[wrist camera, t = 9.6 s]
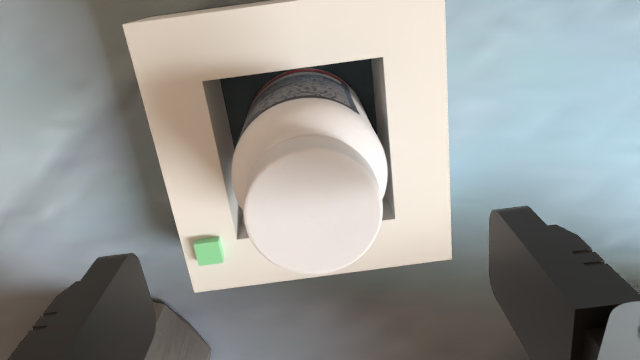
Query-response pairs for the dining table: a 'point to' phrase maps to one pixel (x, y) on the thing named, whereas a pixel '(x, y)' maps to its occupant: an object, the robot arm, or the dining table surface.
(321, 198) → the pill bottle
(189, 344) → the coffeepot
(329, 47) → the port
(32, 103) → the dining table surface
